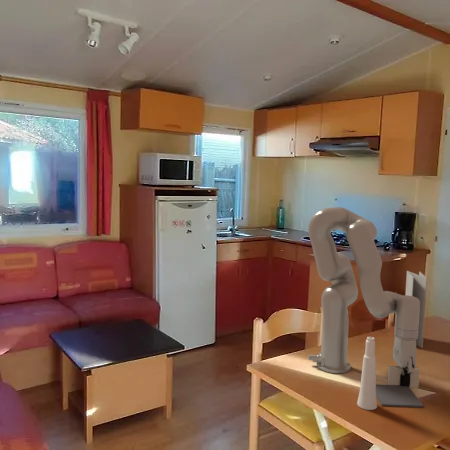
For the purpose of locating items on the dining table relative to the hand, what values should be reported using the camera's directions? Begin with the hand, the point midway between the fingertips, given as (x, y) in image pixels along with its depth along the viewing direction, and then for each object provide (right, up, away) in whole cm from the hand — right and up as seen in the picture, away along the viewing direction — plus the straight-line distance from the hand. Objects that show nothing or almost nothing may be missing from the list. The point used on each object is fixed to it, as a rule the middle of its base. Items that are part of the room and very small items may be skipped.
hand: (403, 383), depth 160 cm
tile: (0, -1, 0) cm, 1 cm away
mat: (-6, -1, -8) cm, 10 cm away
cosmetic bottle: (-17, -2, -14) cm, 22 cm away
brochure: (+21, +3, +43) cm, 48 cm away
